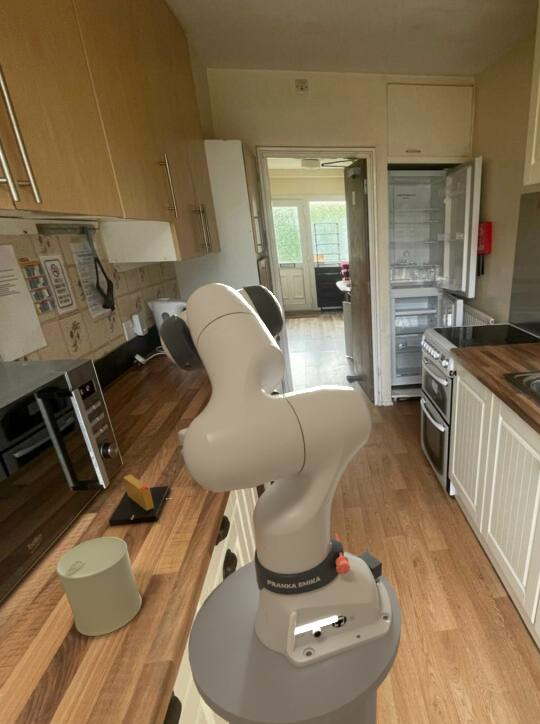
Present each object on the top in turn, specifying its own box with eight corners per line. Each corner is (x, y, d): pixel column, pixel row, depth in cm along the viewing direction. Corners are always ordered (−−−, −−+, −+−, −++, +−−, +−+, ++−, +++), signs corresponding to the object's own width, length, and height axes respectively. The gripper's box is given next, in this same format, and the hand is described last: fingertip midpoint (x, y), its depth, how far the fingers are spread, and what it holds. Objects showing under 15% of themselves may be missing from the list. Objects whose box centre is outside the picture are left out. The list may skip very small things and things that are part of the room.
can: (61, 628, 66) (38, 568, 62) (110, 585, 75) (94, 529, 70) (108, 643, 64) (89, 581, 60) (154, 597, 72) (140, 540, 68)
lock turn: (127, 496, 97) (122, 476, 95) (135, 493, 98) (130, 473, 96) (146, 511, 92) (142, 490, 90) (154, 507, 93) (149, 487, 91)
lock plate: (119, 494, 100) (117, 488, 99) (179, 488, 103) (178, 482, 102) (98, 529, 88) (96, 523, 88) (167, 522, 91) (165, 515, 90)
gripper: (204, 415, 118) (157, 432, 107) (256, 433, 108) (209, 454, 98) (207, 435, 121) (161, 454, 110) (258, 455, 111) (213, 478, 100)
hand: (184, 454), depth 104 cm, fingers closed
